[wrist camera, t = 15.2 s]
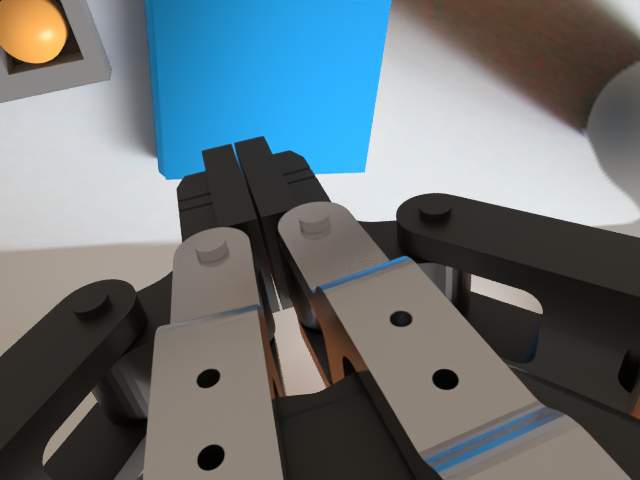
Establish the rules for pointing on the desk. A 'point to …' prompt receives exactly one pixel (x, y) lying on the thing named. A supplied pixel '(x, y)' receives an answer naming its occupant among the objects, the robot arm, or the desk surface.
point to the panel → (58, 62)
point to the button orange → (33, 29)
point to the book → (265, 78)
